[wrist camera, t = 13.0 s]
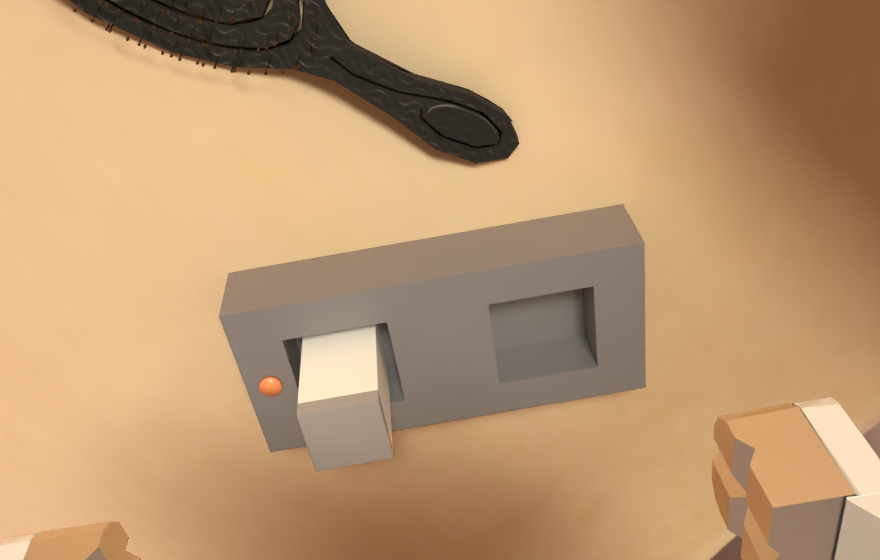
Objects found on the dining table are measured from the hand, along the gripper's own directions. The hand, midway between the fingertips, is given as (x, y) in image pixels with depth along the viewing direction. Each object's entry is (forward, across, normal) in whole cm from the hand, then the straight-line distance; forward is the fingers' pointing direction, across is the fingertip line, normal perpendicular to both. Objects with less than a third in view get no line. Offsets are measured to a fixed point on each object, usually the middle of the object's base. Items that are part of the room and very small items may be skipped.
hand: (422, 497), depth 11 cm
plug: (+30, +5, +20) cm, 37 cm away
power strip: (+31, 0, +20) cm, 37 cm away
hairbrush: (+32, +4, +2) cm, 32 cm away
